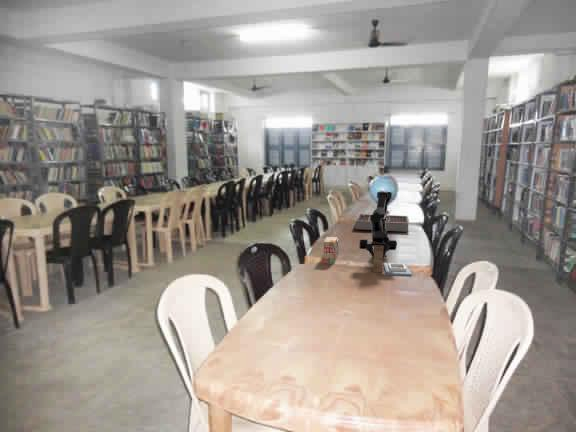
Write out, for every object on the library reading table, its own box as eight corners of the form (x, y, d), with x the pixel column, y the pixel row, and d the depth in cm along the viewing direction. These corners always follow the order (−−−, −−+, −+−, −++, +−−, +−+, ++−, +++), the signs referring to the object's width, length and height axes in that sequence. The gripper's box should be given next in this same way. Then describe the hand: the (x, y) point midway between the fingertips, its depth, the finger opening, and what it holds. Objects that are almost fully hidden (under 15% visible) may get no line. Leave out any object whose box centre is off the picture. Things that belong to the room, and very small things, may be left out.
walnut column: (372, 269, 204) (373, 244, 202) (381, 269, 204) (382, 245, 201) (373, 271, 200) (374, 246, 198) (382, 272, 199) (383, 247, 197)
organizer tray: (409, 233, 290) (409, 220, 288) (354, 231, 300) (354, 218, 298) (407, 225, 321) (408, 213, 319) (357, 223, 331) (358, 211, 329)
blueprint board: (383, 264, 213) (383, 259, 212) (406, 265, 211) (406, 260, 211) (386, 274, 195) (386, 270, 195) (411, 275, 194) (411, 271, 193)
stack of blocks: (328, 253, 237) (328, 233, 234) (338, 253, 235) (339, 233, 233) (323, 263, 216) (323, 241, 214) (334, 263, 215) (335, 241, 213)
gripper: (360, 224, 203) (360, 250, 194) (397, 225, 200) (399, 251, 191) (359, 235, 212) (359, 261, 203) (394, 236, 209) (396, 262, 200)
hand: (378, 258), depth 199 cm, fingers closed on walnut column, 4 cm apart
